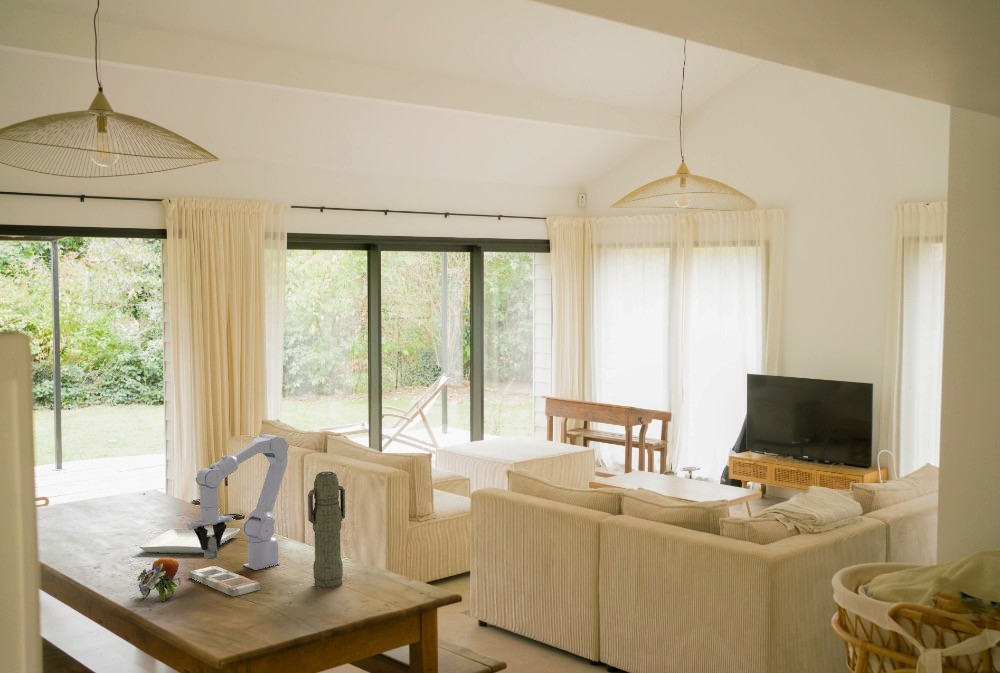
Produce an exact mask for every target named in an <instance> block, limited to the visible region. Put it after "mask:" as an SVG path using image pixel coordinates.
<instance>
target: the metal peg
mask: <svg viewBox="0 0 1000 673" xmlns="http://www.w3.org/2000/svg"><path fill="white" fill-rule="evenodd" d="M203 555H204V556H203V557H204V559H205V560H214V559H217V558H218V547H217V535H215V534H210V535H207V549H206V550H204V553H203Z"/></svg>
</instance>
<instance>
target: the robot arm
mask: <svg viewBox="0 0 1000 673" xmlns="http://www.w3.org/2000/svg"><path fill="white" fill-rule="evenodd" d="M289 447H290V444H289V442H288V441H287V439H286V438H285V437H284V436H282V435H274V434H269V433H262V434H260V435H259V436H257V437H255V438H253V440H252V441H251V442H250V443H249V444H247V445H246V446H244V447H243V448H241V449H240V450H239V451H238V452H236V453H235V454H234V455H229V454H227V455H222V456H221V459H220V460H218V461H216V462H215V463H211V464H209V466H208V467H205V468H204V467H203V468H201V469H200V470H199V471H198V473H197V475H196V477H195V482H196V484H197V485H198V489H199V509H200V510H199V511H200V513H199V515H200V519H198V520H194V521H191V522H187V523H186V525H187V527H186V528H187V529H188V530H193V529H194V531H195V533H196V535H197V537H198V539H199V542H200V545H201V549H202V550H206V549H207V532H208V530H207V529H205V528H207V527H211V526H212V528H213V531H214V534H215V535H217V548H219V547H220V546H221V545H220V543H221V539H222V536H223V533H224V531H225V529H226V528H228V527H227V524H226V523H233V516H232V515H222V516H220V500H219V499H220V498H219V486H220V485H221V483H222V481H223V480H224V479H225V478H228V476H230V475H232V473H235V472H236V471H237V470H239V465H240V464H242V463H244V462H245V461H247V460H249V459H251V458H252V457H254V456H256V455H258V454H262V455H263V456H265V457H266V459H267V461H268V462H269V467H268V469H267V472H266V475H265V478H264V482H263V486H262V488H261V491H260V495H259V498H258V502H257V504H256V507H255V509H254V510H252V511H251V512H250V513H249V515H248V518H247V519H246V521H244V523H243V526H242V527H243V529H242V530H243V533H244V534H245V536H246V538H247V555H248V556H247V559H248V563H244V564H243V566H244V567H246V568H248V569H251V570H254V571H257V570H262V569H265V567H266V568H269V566H270V567H274V566H278V565H280V564H281V563H280V562H279V544H278V541H277V538H276V537H274V536H273V535H274V534H275V522H276V519H275V517H274V515H273V510H274V508H275V504H276V501H277V498H278V495H279V491H280V488H281V485H282V481H283V479H284V475H285V472H286V468H287V466H288V451H289ZM277 564H278V565H277ZM273 565H274V566H273Z"/></svg>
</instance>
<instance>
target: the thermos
mask: <svg viewBox="0 0 1000 673" xmlns="http://www.w3.org/2000/svg"><path fill="white" fill-rule="evenodd" d="M339 499H340V501H339ZM307 510H308V512H307V513H308V514H307V515H308V516H307V518H308V521H309V522H310V523H311V524H312V530H313V533H314V562H313V578H314V583H313V584H314V585H315V586H316V587H315V586H314V587H315V588H317V587H319V588H318V589H335V588H338V587H340V585H341V586H342V585H343V574H344V569H343V568H344V567H343V560H342V558H341V555H342V554H341V531H342V530H341V529H342V527H343V526H342V524H343V523H342V521H343V519H345V518H346V490H345V488H344V487H343V485H342V486H341V485H340V483H339V479H338V475H337V473H335V472H334V471H322V472H318V473H317V474H316V476H315V478H314V482H313V488H312V489H311V490H309V492H308V494H307ZM334 587H335V588H334Z"/></svg>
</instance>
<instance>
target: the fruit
mask: <svg viewBox="0 0 1000 673" xmlns="http://www.w3.org/2000/svg"><path fill="white" fill-rule="evenodd" d="M161 563H163V568H162V570H161V572H163V571H165V572H166V574H165V580H168V581H172V579H173V578H174V577H175V576H176V574H177V573H178V570H179V566H180V563H179V562H178V560H177V559H175V558H173V557H160V558H158V559H157V560H155V561H153V562H152V568H154V567H156V566H157V567H159V566H160V564H161ZM152 568H151V569H152Z"/></svg>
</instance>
